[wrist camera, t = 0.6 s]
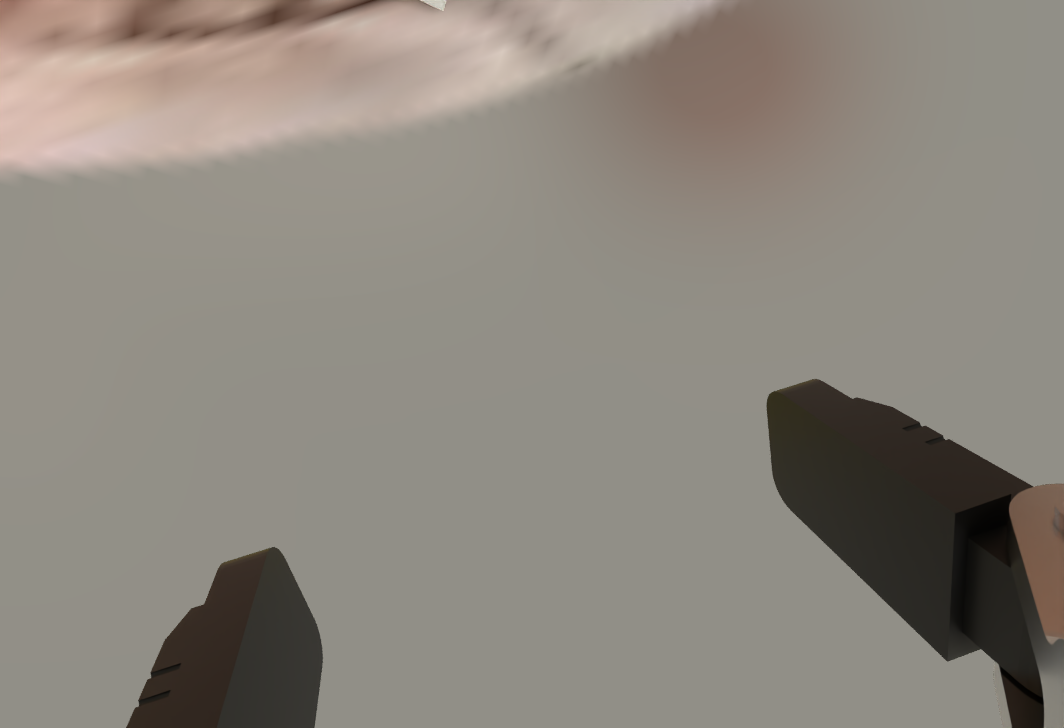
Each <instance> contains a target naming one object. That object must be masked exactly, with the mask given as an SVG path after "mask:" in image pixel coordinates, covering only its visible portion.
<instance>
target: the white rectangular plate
mask: <svg viewBox="0 0 1064 728" xmlns="http://www.w3.org/2000/svg"><path fill="white" fill-rule="evenodd" d="M420 1H422V2H424V3H426V4H428V5H430V6H432V7H434V8H436V9H439V10H441V11H443V10H444V7H445V4H446V1H447V0H420Z"/></svg>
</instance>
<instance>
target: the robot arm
mask: <svg viewBox="0 0 1064 728" xmlns="http://www.w3.org/2000/svg"><path fill="white" fill-rule="evenodd" d="M767 417H768V428H769V440H770V451H771V463H772V472H773V478H774V481H775V485H776V487H777V490H778V492H779V494H780V496H781V498H782V500H783V501H784V503H785V504H786V505H787V507H788V508H789V509H790V510H791V511H792V512H793V513H794V514H795V515H796V516H797V517H798V518H799V519H800V520H802V522H803V523H804V524H805V525H807V526H808V527H809V528H810V529H811V530H812V531H813V532H814V533H815V534H816V535H817V536H818V537H819V538H820V539H821V540H822V541H823V542H824V543H825V544H826V545H827V546H828V547H829V548H830V549H832V551H834V553H836V554H837V555H838V556H839V557H840V558H841V559H842V560H843V561H844V562H845V563H846V564H847V565H848V566H849V567H850V568H851V569H852V570H853V571H854V572H855V573H856V574H857V575H858V576H860V578H861V579H863V581H865V582H866V583H867V584H868V585H869V586H870V587H871V588H872V589H873V590H874V591H875V592H876V593H877V594H878V595H879V596H880V597H881V598H882V599H883V600H884V601H885V602H886V603H887V604H888V605H889V606H890V607H892V608H893V609H894V610H895V611H896V612H897V613H898V614H899V615H900V616H901V617H902V618H903V619H904V620H905V621H906V622H907V623H908V624H909V625H910V626H911V627H912V628H913V629H914V630H915V631H916V632H917V633H918V634H920V636H921V637H922V638H924V639H925V640H926V641H927V642H928V643H929V644H930V645H931V646H932V647H933V648H934V649H935V650H936V651H937V652H938V653H939V654H940V655H942V657H943V658H944V659H945V660H946V661H950V660H953V659H955V658H958V657H961V656H964V655H966V654H969V653H972V652H974V651H977V650H980V649H982V650H983V651H984V652H985V653H986V654H987V655H989V656H990V657H991V658H992V659H993V660H994V661H995V663H994V674H993V675H994V685H995V690H996V695H997V699H998V705H999V710H1000V715H1001V720H1002V725H1003V728H1064V484H1046V485H1040V486H1035V487H1033V486H1031V485H1030V484H1028V483H1026V482H1024V481H1022V480H1021V479H1019V478H1017V477H1015V476H1014V475H1012V474H1010V473H1008V472H1007V471H1005V470H1003V469H1001V468H999V467H998V466H996V465H994V464H992V463H991V462H989V461H987V460H985V459H983V458H982V457H980V456H978V455H976V454H975V453H973V452H971V451H969V450H968V449H966V448H964V447H962V446H960V445H959V444H956V443H955V442H953V441H951V440H950V439H948V440H945V439H944V438H943V435H941V434H939V433H937V432H936V431H934V430H932V429H930V428H929V427H927V426H923V427H922V426H921V425H920V423H919V422H918V421H916V420H914V419H913V418H911V417H909V416H907V415H905V414H903V413H902V412H900V411H898V410H897V409H895V408H893V407H890V406H887V405H883V404H879V403H875V402H872V401H868V400H865V399H861V398H854V399H852V398H850V397H848V396H846V395H845V394H843V393H841V392H840V391H838V390H836V389H835V388H833V387H831V386H830V385H828V384H826V383H825V382H823V381H821V380H818V379H812V380H809V381H806V382H803V383H799V384H797V385H793V386H790V387H787V388H784V389H780V390H777V391H774V392H772V393H771V394H769V396H768V399H767ZM322 660H323V654H322V645H321V639H320V634H319V631H318V627H317V624H316V622H315V619H314V618H313V615H312V613H311V611H310V609H309V607H308V605H307V603H306V601H305V599H304V597H303V595H302V592H301V590H300V588H299V587H298V584H297V582H296V580H295V578H294V576H293V574H292V572H291V570H290V568H289V566H288V563H287V562H286V559H285V558H284V556H283V554H282V553H281V552H280V550H279V549H277V548H275V547H272V548H268V549H265V550H262V551H259V552H256V553H252V554H249V555H246V556H243V557H240V558H237V559H234V560H230V561H227V562H224V563H222V564H221V565H220V567H219V568H218V570H217V573H216V576H215V578H214V581H213V583H212V586H211V589H210V591H209V594H208V596H207V599H206V601H205V604H204V605H201V606H198V607H195V608H192V609H191V610H190V611H189V612H188V613H187V614H186V616H185V617H184V618H183V619H182V620H181V622H180V623H179V624H178V625H177V626H176V628H175V629H174V630H173V631H172V632H171V634H170V635H169V636H168V637H167V639H165V641H164V643H163V645H162V648H161V650H160V653H159V655H158V657H157V659H156V661H155V664H154V666H153V668H152V671H151V679H148V680H147V682H146V684H145V686H144V689H143V691H142V693H141V696H140V698H139V700H138V701H139V707H136V708H135V709H134V712H133V714H132V716H131V718H130V721H129V723H128V725H127V727H126V728H314V726H315V719H316V711H317V703H318V695H319V687H320V680H321V672H322V663H323V661H322Z"/></svg>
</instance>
